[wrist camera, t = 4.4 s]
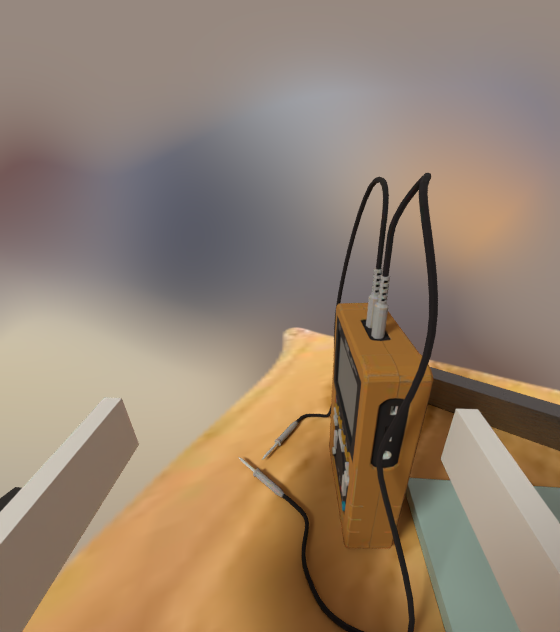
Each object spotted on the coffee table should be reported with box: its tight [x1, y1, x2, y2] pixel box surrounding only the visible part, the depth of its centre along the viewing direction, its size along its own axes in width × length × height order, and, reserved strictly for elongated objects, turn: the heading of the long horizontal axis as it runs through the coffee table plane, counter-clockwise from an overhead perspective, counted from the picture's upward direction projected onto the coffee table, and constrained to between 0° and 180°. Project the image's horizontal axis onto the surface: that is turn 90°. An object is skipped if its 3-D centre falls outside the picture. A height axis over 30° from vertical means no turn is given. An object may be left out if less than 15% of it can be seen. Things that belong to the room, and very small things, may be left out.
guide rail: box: [428, 367, 560, 451], centre depth 24 cm, size 22×2×3 cm, turn 54°
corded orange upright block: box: [239, 173, 438, 632], centre depth 16 cm, size 15×10×20 cm
